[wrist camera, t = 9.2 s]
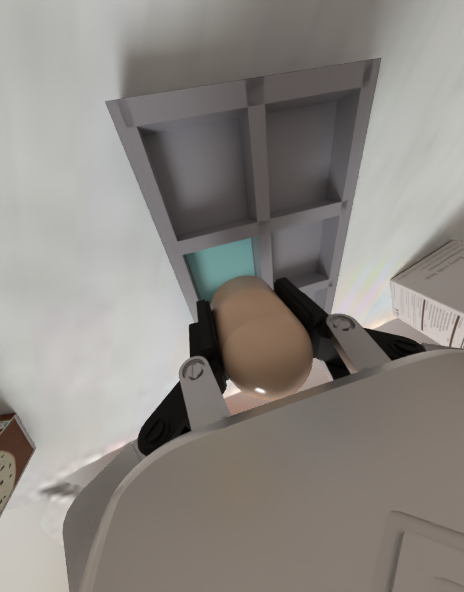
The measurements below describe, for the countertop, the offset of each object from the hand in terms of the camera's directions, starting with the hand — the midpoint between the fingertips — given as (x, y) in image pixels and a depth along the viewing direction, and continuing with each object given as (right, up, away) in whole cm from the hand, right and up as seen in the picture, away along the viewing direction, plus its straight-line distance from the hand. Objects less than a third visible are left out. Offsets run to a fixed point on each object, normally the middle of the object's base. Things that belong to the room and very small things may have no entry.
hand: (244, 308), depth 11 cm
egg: (0, 0, 0) cm, 1 cm away
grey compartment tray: (+2, +5, +6) cm, 7 cm away
